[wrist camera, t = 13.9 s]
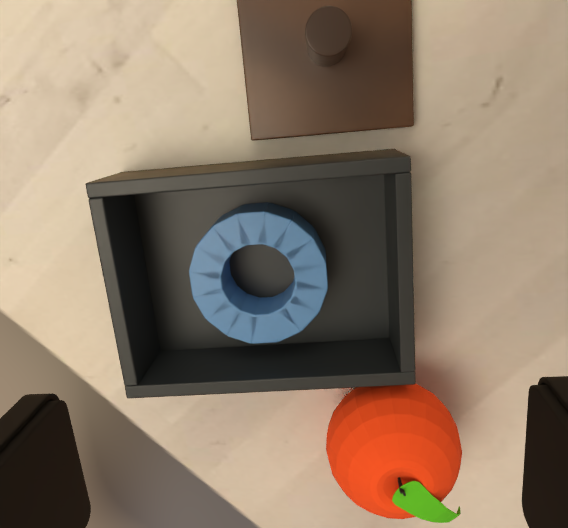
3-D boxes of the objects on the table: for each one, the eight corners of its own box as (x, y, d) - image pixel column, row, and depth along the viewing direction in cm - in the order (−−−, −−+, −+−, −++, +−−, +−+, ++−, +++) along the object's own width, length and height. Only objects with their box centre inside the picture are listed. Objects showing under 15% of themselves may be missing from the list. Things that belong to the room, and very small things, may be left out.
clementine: (482, 414, 30) (530, 502, 23) (401, 488, 32) (424, 590, 25) (378, 332, 29) (398, 400, 22) (301, 414, 31) (296, 500, 24)
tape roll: (192, 208, 27) (180, 217, 25) (321, 197, 27) (322, 206, 24) (209, 327, 29) (199, 347, 27) (330, 320, 29) (331, 339, 26)
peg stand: (235, -34, 24) (212, -75, 19) (407, -55, 24) (434, -103, 18) (253, 139, 27) (237, 147, 21) (411, 125, 26) (435, 129, 21)
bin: (120, 172, 27) (84, 183, 23) (395, 148, 26) (411, 155, 22) (153, 358, 30) (126, 398, 26) (401, 344, 29) (415, 384, 25)
